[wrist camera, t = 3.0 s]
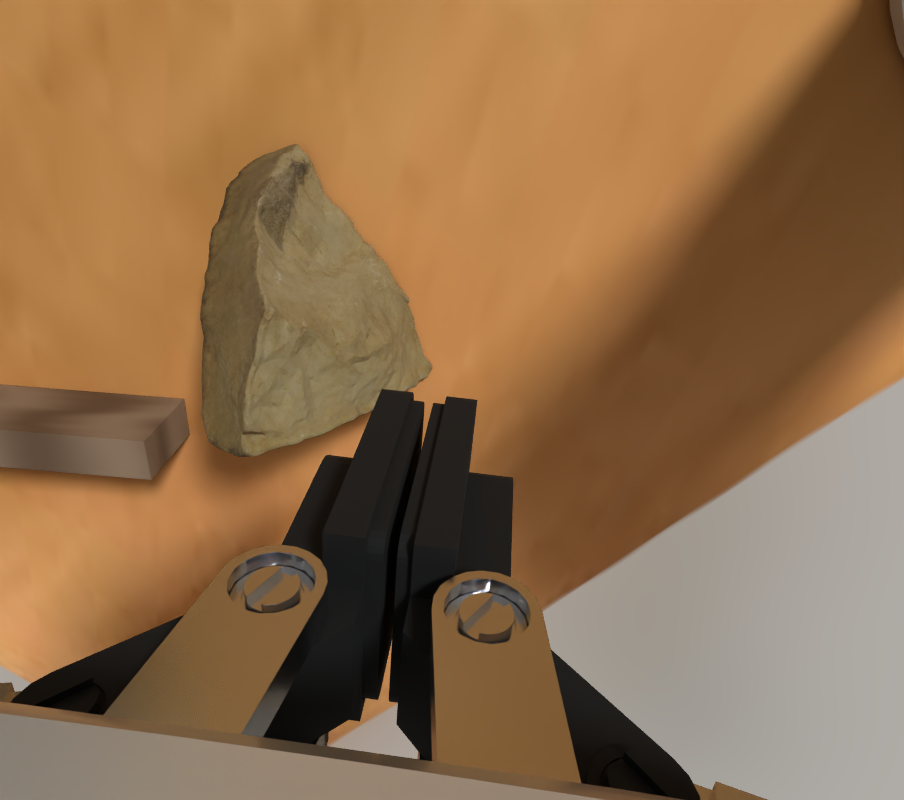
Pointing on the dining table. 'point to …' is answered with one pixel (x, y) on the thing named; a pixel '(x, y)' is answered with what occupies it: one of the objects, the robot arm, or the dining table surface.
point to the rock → (296, 314)
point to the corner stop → (89, 431)
